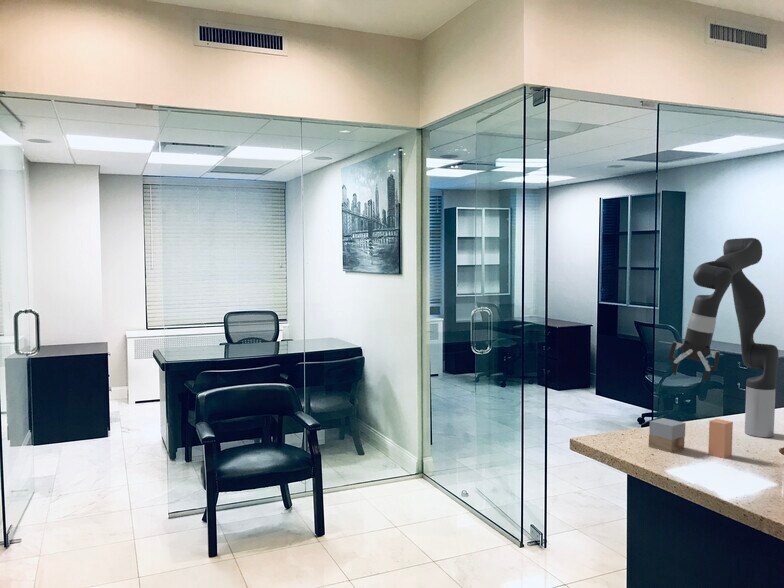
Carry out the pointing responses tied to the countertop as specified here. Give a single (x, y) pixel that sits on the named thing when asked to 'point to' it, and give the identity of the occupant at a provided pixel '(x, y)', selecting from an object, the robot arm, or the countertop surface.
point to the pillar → (720, 438)
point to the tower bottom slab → (666, 443)
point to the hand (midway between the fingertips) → (689, 378)
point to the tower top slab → (667, 428)
